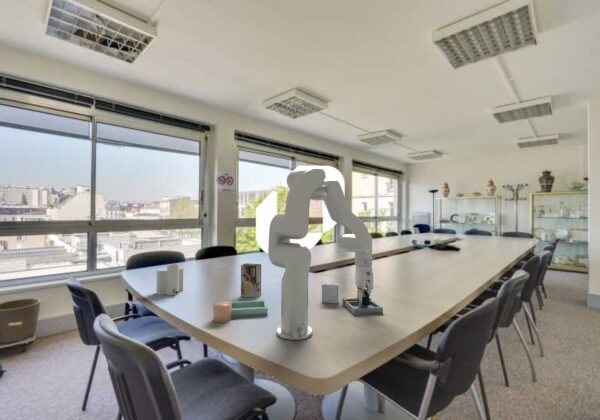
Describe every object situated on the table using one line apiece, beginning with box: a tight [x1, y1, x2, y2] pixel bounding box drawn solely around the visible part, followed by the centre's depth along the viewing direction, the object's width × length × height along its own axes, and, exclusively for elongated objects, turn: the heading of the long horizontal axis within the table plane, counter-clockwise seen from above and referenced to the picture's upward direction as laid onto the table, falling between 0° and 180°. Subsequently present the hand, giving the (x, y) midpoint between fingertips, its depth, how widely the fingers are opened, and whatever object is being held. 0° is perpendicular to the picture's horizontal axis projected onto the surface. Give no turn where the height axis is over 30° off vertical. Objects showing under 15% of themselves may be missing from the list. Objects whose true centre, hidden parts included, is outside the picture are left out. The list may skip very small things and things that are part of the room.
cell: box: [358, 288, 368, 308], centre depth 128 cm, size 4×4×8 cm
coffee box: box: [240, 262, 262, 299], centre depth 149 cm, size 9×6×16 cm
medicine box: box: [321, 282, 339, 304], centre depth 139 cm, size 8×4×9 cm, turn 84°
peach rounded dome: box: [212, 301, 232, 324], centre depth 115 cm, size 7×7×6 cm
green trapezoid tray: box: [230, 299, 269, 319], centre depth 124 cm, size 11×16×3 cm
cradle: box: [341, 296, 384, 316], centre depth 129 cm, size 14×13×3 cm
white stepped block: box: [156, 263, 184, 296], centre depth 152 cm, size 12×14×15 cm
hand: (363, 303), depth 128 cm, fingers closed on cell, 4 cm apart
